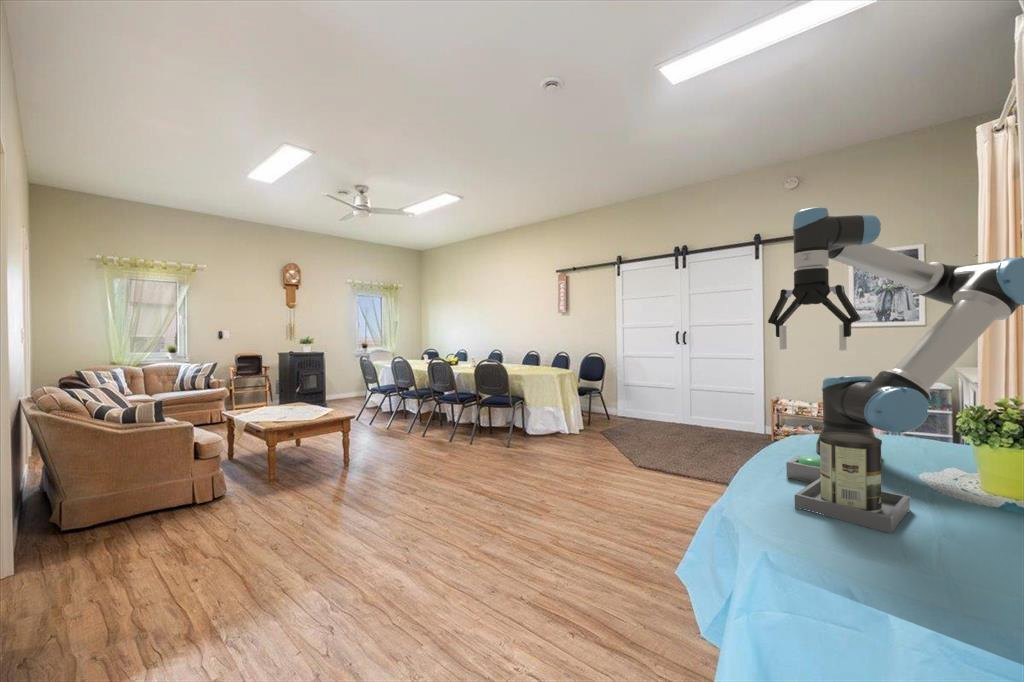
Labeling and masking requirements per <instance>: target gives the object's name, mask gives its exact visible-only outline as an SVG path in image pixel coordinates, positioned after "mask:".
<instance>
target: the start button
mask: <svg viewBox="0 0 1024 682" xmlns="http://www.w3.org/2000/svg"><path fill="white" fill-rule="evenodd" d="M801 456H802V457H799V463H801V464H807V465H812V466H817V467H820V457H819V458H818V457H815V456H808V455H807V456H806V455H805V456H803V455H801Z"/></svg>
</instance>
